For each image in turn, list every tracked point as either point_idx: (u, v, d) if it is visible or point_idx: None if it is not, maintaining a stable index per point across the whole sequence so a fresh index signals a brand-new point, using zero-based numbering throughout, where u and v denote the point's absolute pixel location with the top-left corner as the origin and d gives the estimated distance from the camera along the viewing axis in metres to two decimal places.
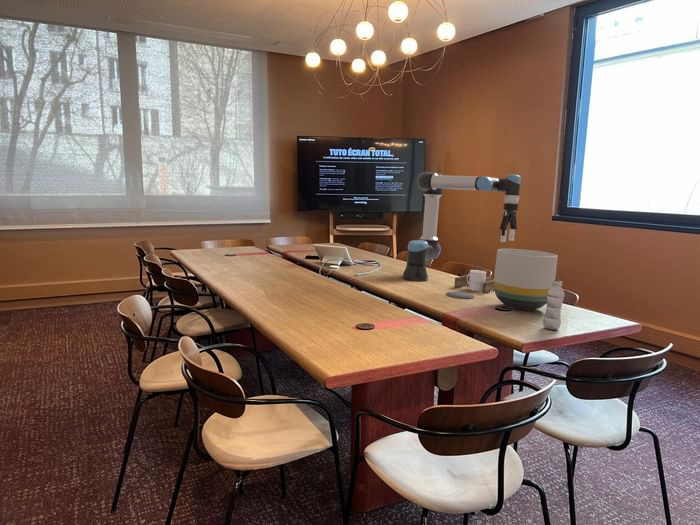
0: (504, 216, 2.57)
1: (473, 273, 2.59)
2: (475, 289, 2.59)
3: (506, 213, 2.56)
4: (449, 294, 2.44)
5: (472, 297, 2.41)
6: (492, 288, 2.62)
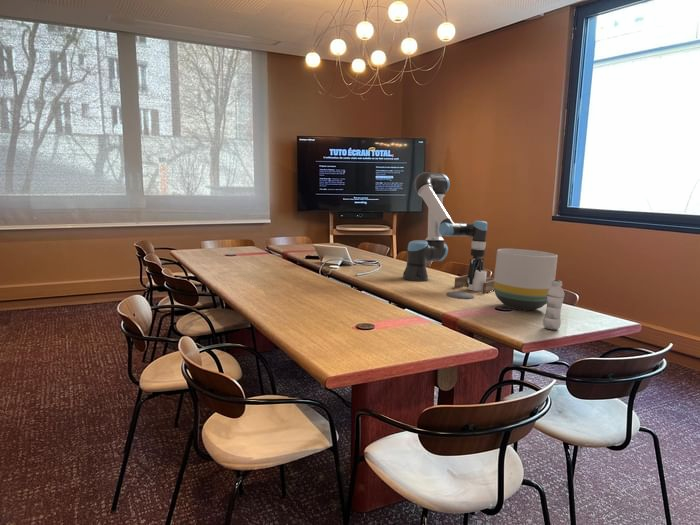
0: (471, 264, 2.57)
1: None
2: (475, 289, 2.60)
3: (472, 261, 2.57)
4: (449, 294, 2.44)
5: (472, 297, 2.41)
6: (492, 288, 2.62)
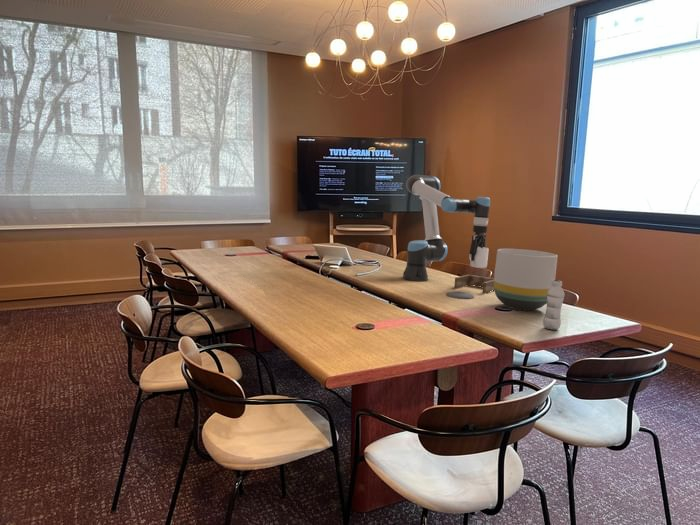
0: (473, 240, 2.56)
1: None
2: (477, 265, 2.58)
3: (474, 237, 2.55)
4: (449, 294, 2.44)
5: (472, 297, 2.41)
6: (492, 288, 2.62)
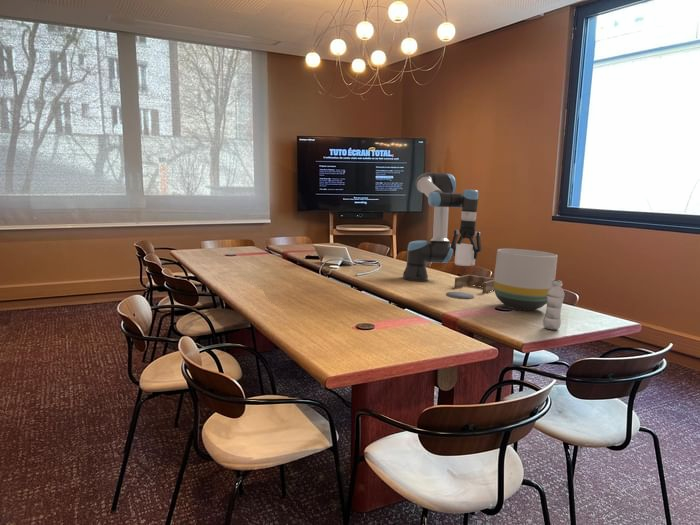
0: None
1: None
2: None
3: None
4: (449, 294, 2.44)
5: (472, 297, 2.41)
6: (492, 288, 2.62)
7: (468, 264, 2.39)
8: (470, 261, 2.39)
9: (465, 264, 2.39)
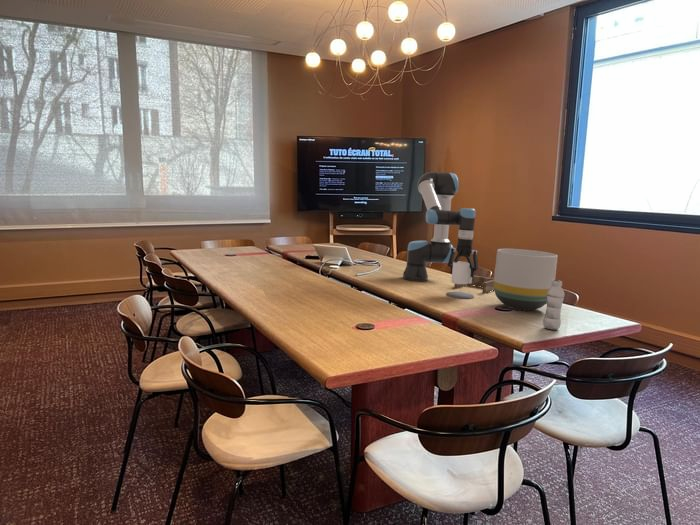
0: None
1: None
2: None
3: None
4: (449, 294, 2.44)
5: (472, 297, 2.41)
6: (492, 288, 2.62)
7: (465, 282, 2.39)
8: (467, 279, 2.39)
9: (462, 282, 2.39)
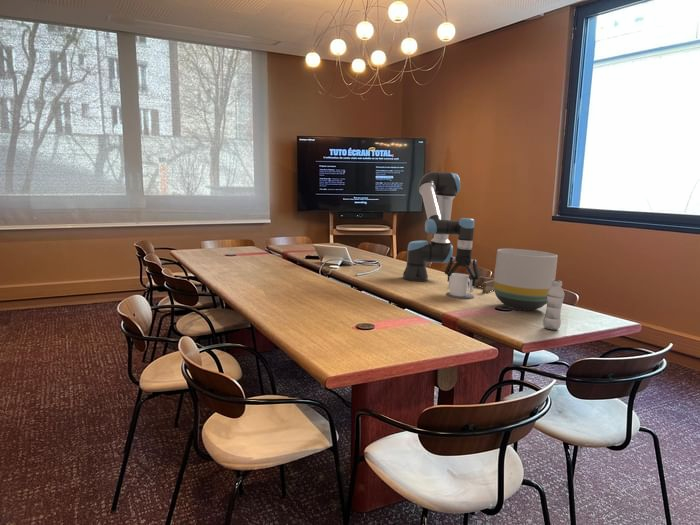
0: None
1: None
2: None
3: None
4: (449, 294, 2.44)
5: (472, 297, 2.41)
6: (492, 288, 2.62)
7: (463, 295, 2.40)
8: (465, 292, 2.41)
9: (460, 295, 2.40)
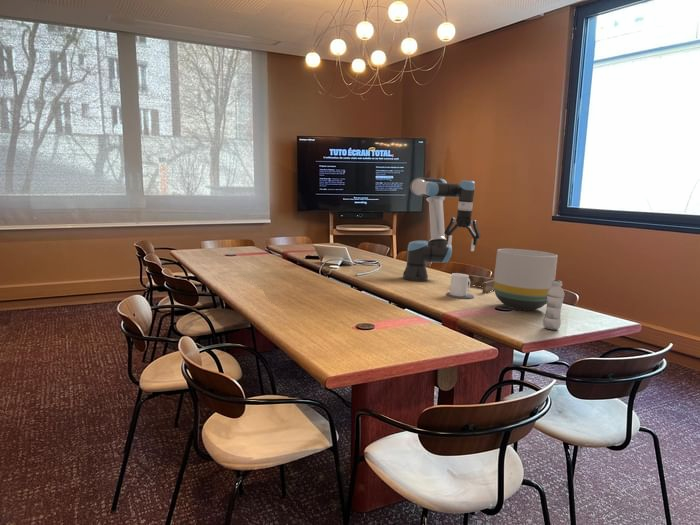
0: None
1: None
2: None
3: None
4: (449, 294, 2.44)
5: (472, 297, 2.41)
6: (492, 288, 2.62)
7: (463, 295, 2.40)
8: (465, 292, 2.41)
9: (460, 295, 2.40)
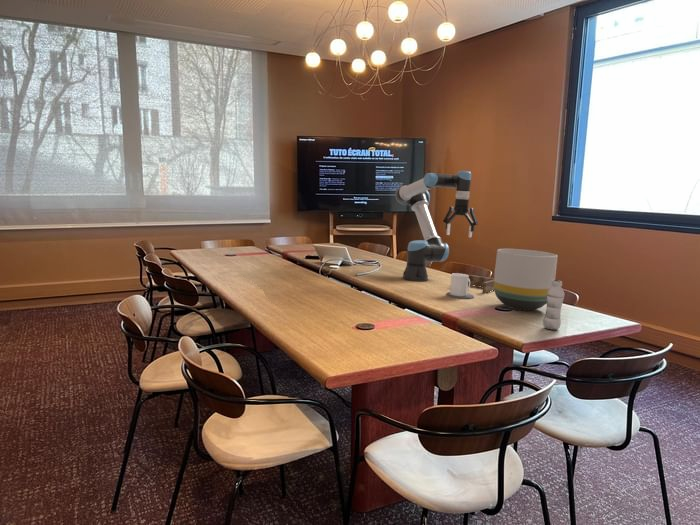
0: None
1: None
2: None
3: None
4: (449, 294, 2.44)
5: (472, 297, 2.41)
6: (492, 288, 2.62)
7: (463, 295, 2.40)
8: (465, 292, 2.41)
9: (460, 295, 2.40)
